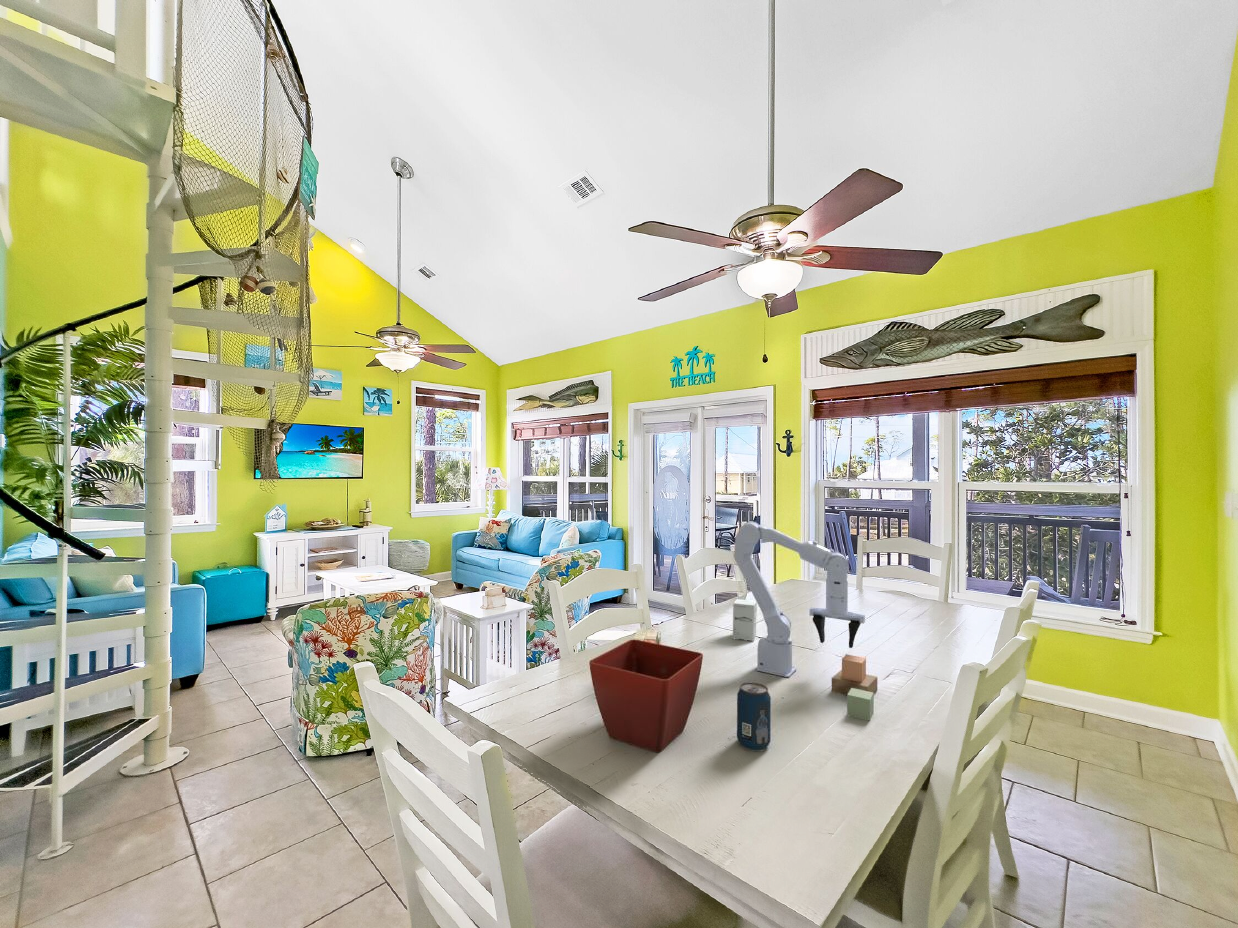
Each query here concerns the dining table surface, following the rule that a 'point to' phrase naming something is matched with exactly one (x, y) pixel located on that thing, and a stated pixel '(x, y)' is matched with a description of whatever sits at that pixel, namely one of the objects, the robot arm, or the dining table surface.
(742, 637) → the supplement box
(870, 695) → the green cube
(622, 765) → the dining table surface
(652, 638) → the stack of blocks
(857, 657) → the terracotta cube
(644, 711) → the plant pot
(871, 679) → the walnut block
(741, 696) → the soda can
